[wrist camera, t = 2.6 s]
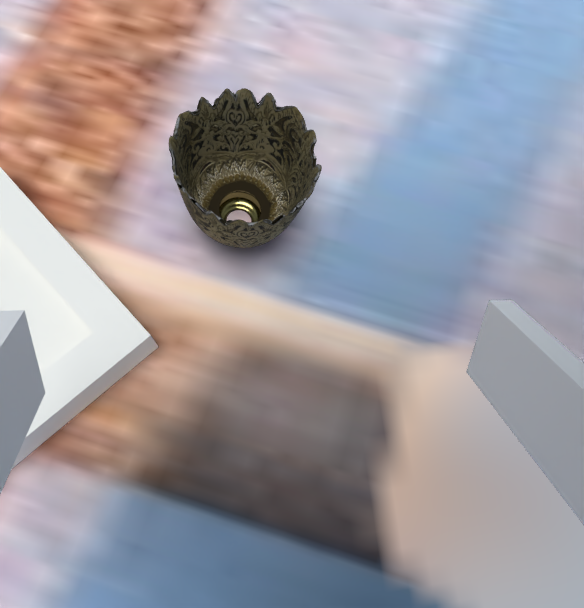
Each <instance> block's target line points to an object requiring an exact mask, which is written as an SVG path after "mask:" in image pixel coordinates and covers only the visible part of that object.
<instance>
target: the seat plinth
mask: <svg viewBox="0 0 584 608" xmlns="http://www.w3.org/2000/svg"><path fill="white" fill-rule="evenodd" d="M12 310H25V314H26V318H27V322H28V326H29V330H30V334H31V338H32V342H33V346H34V349H35V353H36V357H37V361H38V365H39V369H40V373H41V377H42V381H43V385H44V389H45V395H44V397H43V399H42V402H41V404H40V406H39V408H38V411H37V413H36V415H35V417H34V420H33V422H32V424H31V426H30V429H29V431H28V433H27V435H26V437H25V440H24V442H23V444H22V446H21V449H20V451H19V453H18V455H17V458H16V460H15V462H14V464H13V467H15V466H16V465H17V464H18V463H19V462H21V461H22V460H23V459H24V458H25V457H27V456H28V455H29V454H30V453H32V452H33V451H34V450H35V449H36V448H38V447H39V446H40V445H41V444H42V443H44V442H45V441H46V440H47V439H48V438H50V437H51V436H52V435H53V434H54V433H56V432H57V431H58V430H59V429H60V428H62V427H63V426H64V425H65V424H66V423H68V422H69V421H70V420H71V419H72V418H74V417H75V416H76V415H77V414H78V413H80V412H81V411H82V410H83V409H85V408H86V407H87V406H88V405H89V404H91V403H92V402H93V401H94V400H95V399H97V398H98V397H99V396H100V395H101V394H103V393H104V392H105V391H106V390H107V389H109V388H110V387H111V386H112V385H113V384H115V383H116V382H117V381H118V380H119V379H121V378H122V377H123V376H124V375H125V374H127V373H128V372H129V371H130V370H131V369H133V368H134V367H135V366H136V365H137V364H139V363H140V362H141V361H142V360H144V359H145V358H146V357H147V356H148V355H150V354H151V353H152V352H153V351H154V350H156V349H157V348H158V345H157V344H156V342H155V341H154V339H153V338H152V336H151V335H150V334H149V333H148V332H147V331H146V330H145V328H144V327H143V326H142V325H141V324H140V323H139V322H138V321H137V319H136V318H135V317H134V316H133V315H132V314H131V313H130V312H129V311H128V309H127V308H126V307H125V306H124V305H123V304H122V303H121V302H120V300H119V299H118V298H117V297H116V296H115V295H114V294H113V293H112V292H111V290H110V289H109V288H108V287H107V286H106V285H105V284H104V283H103V281H102V280H101V279H100V278H99V277H98V276H97V275H96V274H95V273H94V271H93V270H92V269H91V268H90V267H89V266H88V265H87V264H86V262H85V261H84V260H83V259H82V258H81V257H80V256H79V255H78V254H77V252H76V251H75V250H74V249H73V248H72V247H71V246H70V245H69V243H68V242H67V241H66V240H65V239H64V238H63V237H62V236H61V235H60V233H59V232H58V231H57V230H56V229H55V228H54V227H53V226H52V224H51V223H50V222H49V221H48V220H47V219H46V218H45V217H44V216H43V214H42V213H41V212H40V211H39V210H38V209H37V208H36V207H35V205H34V204H33V203H32V202H31V201H30V200H29V199H28V198H27V197H26V195H25V194H24V193H23V192H22V191H21V190H20V189H19V188H18V186H17V185H16V184H15V183H14V182H13V181H12V180H11V179H10V178H9V176H8V175H7V174H6V173H5V172H4V171H3V170H2V169H1V167H0V311H12ZM13 467H12V468H13Z"/></svg>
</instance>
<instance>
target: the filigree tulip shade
mask: <svg viewBox="0 0 584 608" xmlns="http://www.w3.org/2000/svg"><path fill="white" fill-rule="evenodd" d="M261 101H262V102H261ZM261 101H260V102H261V103H260V102H259V103H260V104H259V103H257V102H256V99H255V97H254V95H253V93H252V92H251V91H250V90H248V89H241V90H238V91H237V92H236V94H235V95H234V93H232V92H231V91H230V90H229V89H225V90H224V92H223V93H222V94H221V95H220V97H219V98H217V99H216V100H215V102H214V105H213V106H212V105H211V104H210V103H209V101H208V100H206V99H205V98H204V97H201V98H200V100H199V103H198V107H197V110H196V111H194V112H190V111H186V112H184V113H182V114H180V115H179V116H178V118H177V122H176V126H175V129H174V133H173V136H170V138H169V150H170V153H171V157H172V169H173V172H174V179H175V181H176V182H177V185H178V187H179V190H180V193H181V195H182V198H183V200H184V203H185V205H186V207H187V210H188V211H189V213H190V215H191V217H192V218H193V220H194V221H195V223H196V224H197V225H198V226H199V228H200V229H201V230H202V231H203V232H204V233H205V234H207V235H208V236H209V237H211V238H212V239H214V240H216V241H218V242H220V243H222V244H225V245H228V246H233V247H241V248H246V247H254V246H259V245H262V244H264V243H267V242H269V241H270V240H272V239H274V238H275V237H277V236H278V235H279V234H281V233H282V232H283V231H284V230H285V229H286V228H287V227H288V225H289V224H290V223H291V222H292V220H293V219H294V218H295V216H296V215H297V213H298V212H299V211H300V209H301V208H302V206H303V205H304V203H305V201H306V200H307V199H308V198H309V197H310V195H311V194H312V192H313V190H314V187H315V184H316V182H317V180H318V178H319V175H320V172H321V169H322V167H321V165H319V164H317V165H316V156H315V155H314V146H315V143H316V141H317V140H316V135H315V132H314V130H307V128H306V124H305V120H304V118H303V116H302V115H301V113H300V112H299V110H298V109H297V108H296V107H295V106H285V107H276V106H277V105H276V104H275V102H276V101H275V99H274V97H273V96H272V94H271V93H267V94H266V95H265V96H264V97H263V98H262V99H261ZM258 104H259V105H258ZM236 209H240V210H244V211H246V212H247V213H248V214H249V215H250V217H251V220H252V222H251V223H247V222H245V221H243V220H234V221H232V220H229V221H227V222H226V218H227V216H228V214H229V213H230V212H231V211H233V210H236Z"/></svg>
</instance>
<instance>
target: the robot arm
mask: <svg viewBox="0 0 584 608" xmlns="http://www.w3.org/2000/svg"><path fill="white" fill-rule="evenodd" d="M467 373H468V375H469V376H470V377H471V378H472V379H473V381H474V382H475V384H476V385H477V386H478V388H479V389H480V390H481V391H482V393H483V394H484V395H485V397H486V398H487V399H488V401H489V402H490V403H491V405H492V406H493V407H494V408H495V410H496V411H497V412H498V414H499V415H500V416H501V418H502V419H503V420H504V422H505V423H506V424H507V426H509V428H510V429H511V431H512V432H513V433H514V435H515V436H516V437H517V438H518V440H519V441H520V442H521V444H522V445H523V446H524V448H525V449H526V450H527V452H528V453H529V454H530V456H531V457H532V458H533V459H534V461H535V462H536V463H537V465H538V466H539V467H540V469H541V470H542V471H543V473H544V474H545V475H546V476H547V478H548V479H549V480H550V481H551V483H552V484H553V485H554V487H555V488H556V489H557V491H558V492H559V493H560V495H561V496H562V497H563V499H564V500H565V501H566V502H567V504H568V505H569V507H570V508H571V509H572V510H573V512H574V513H575V514H576V515H577V517H578V518H579V520H580V521H581V522H582V523H583V525H584V363H583V362H582V361H581V360H580V359H579V358H578V357H577V356H575V355H574V354H573V353H572V352H571V351H570V350H569V349H567V348H566V347H565V346H564V345H563V344H562V343H561V342H559V341H558V340H557V339H556V338H555V337H554V336H553V335H551V334H550V333H549V332H548V331H547V330H546V329H545V328H543V327H542V326H541V325H540V324H539V323H538V322H537V321H535V320H534V319H533V318H532V317H531V316H530V315H529V314H528V313H526V312H525V311H524V310H523V309H522V308H521V307H520V306H518V305H517V304H516V303H515V302H514V301H513V300H489V302H488V305H487V309H486V312H485V315H484V318H483V321H482V324H481V328H480V331H479V334H478V337H477V340H476V343H475V346H474V350H473V353H472V356H471V359H470V362H469V365H468V369H467ZM44 395H45V389H44V385H43V381H42V377H41V373H40V369H39V365H38V361H37V357H36V353H35V349H34V346H33V342H32V338H31V334H30V330H29V326H28V322H27V318H26V314H25V310H12V311H0V494H1V491H2V489H3V487H4V485H5V482H6V480H7V478H8V476H9V473H10V471H11V469H12V467H13V464H14V462H15V460H16V458H17V455H18V453H19V451H20V449H21V446H22V444H23V442H24V440H25V437H26V435H27V433H28V431H29V429H30V426H31V424H32V422H33V420H34V417H35V415H36V413H37V411H38V408H39V406H40V404H41V402H42V399H43V397H44Z"/></svg>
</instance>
